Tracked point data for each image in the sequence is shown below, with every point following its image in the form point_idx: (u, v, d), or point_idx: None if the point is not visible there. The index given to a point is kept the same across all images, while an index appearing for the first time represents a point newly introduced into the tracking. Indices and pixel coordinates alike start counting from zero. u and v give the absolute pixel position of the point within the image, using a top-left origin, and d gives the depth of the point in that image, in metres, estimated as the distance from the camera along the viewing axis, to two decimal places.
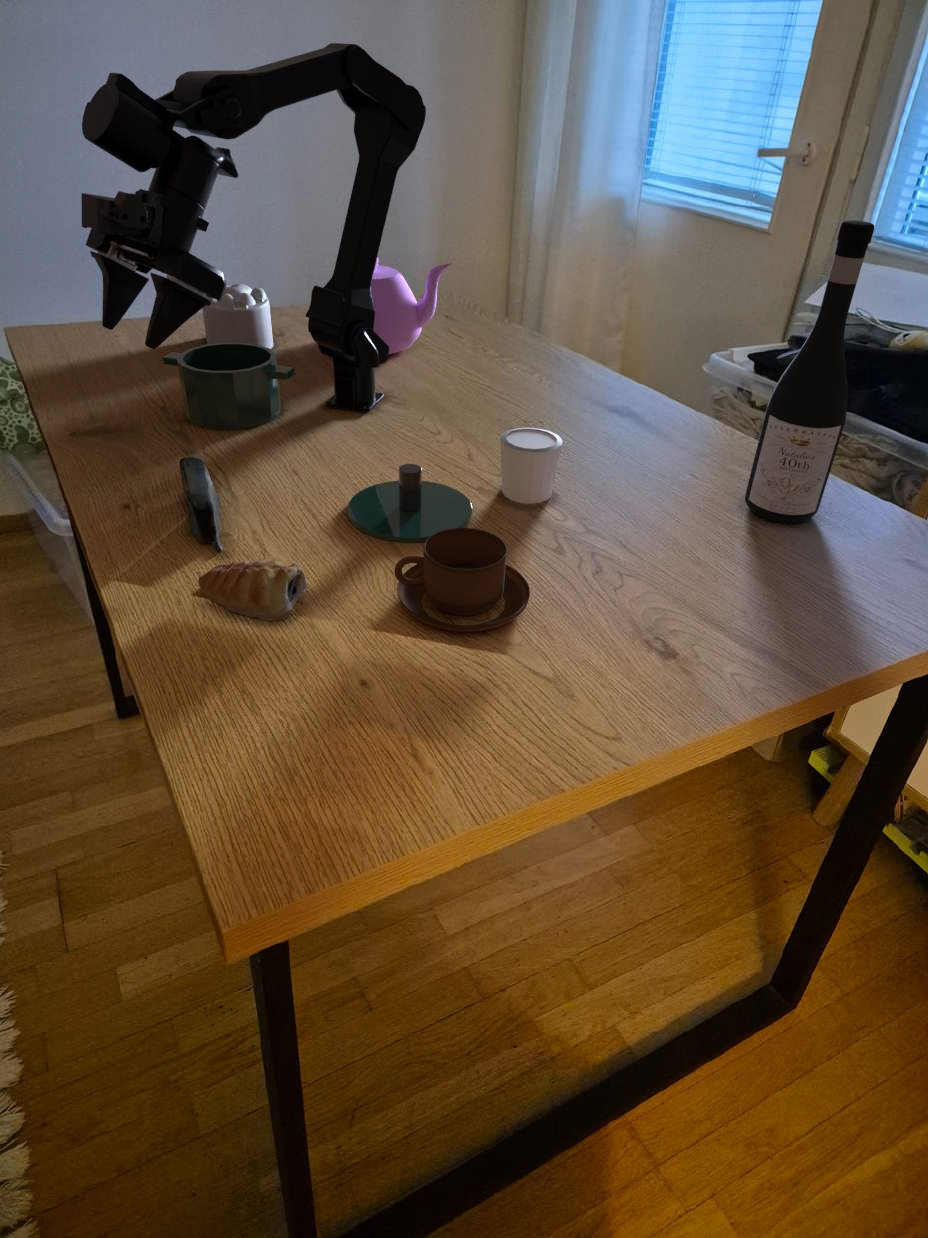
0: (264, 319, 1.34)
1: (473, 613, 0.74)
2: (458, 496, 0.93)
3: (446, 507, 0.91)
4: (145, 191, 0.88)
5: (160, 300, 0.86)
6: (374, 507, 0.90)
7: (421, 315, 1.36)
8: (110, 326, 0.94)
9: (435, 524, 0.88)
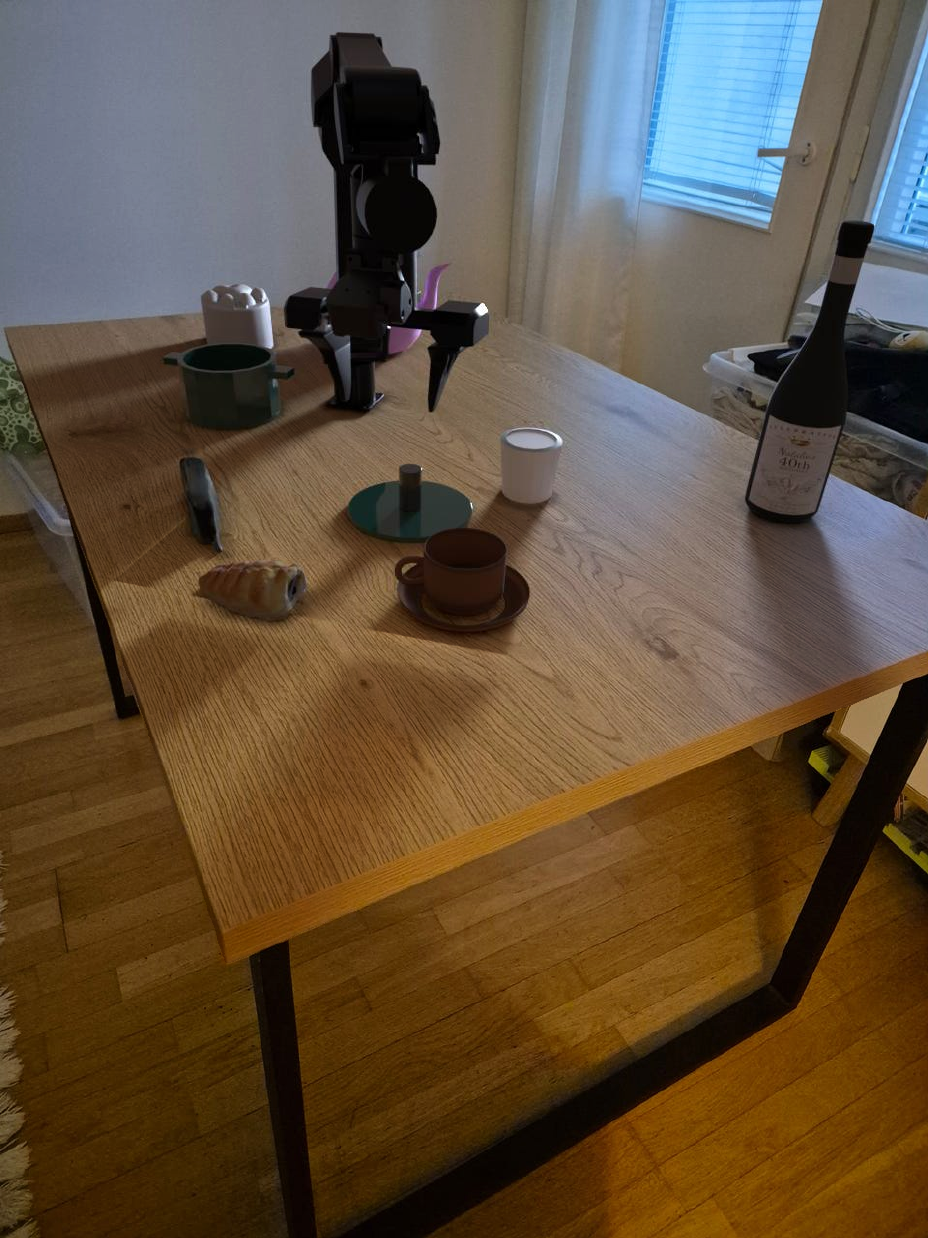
0: (264, 319, 1.34)
1: (473, 613, 0.74)
2: (458, 496, 0.93)
3: (446, 507, 0.91)
4: (360, 252, 0.74)
5: (440, 367, 0.79)
6: (374, 507, 0.90)
7: None
8: (348, 396, 0.85)
9: (435, 524, 0.88)
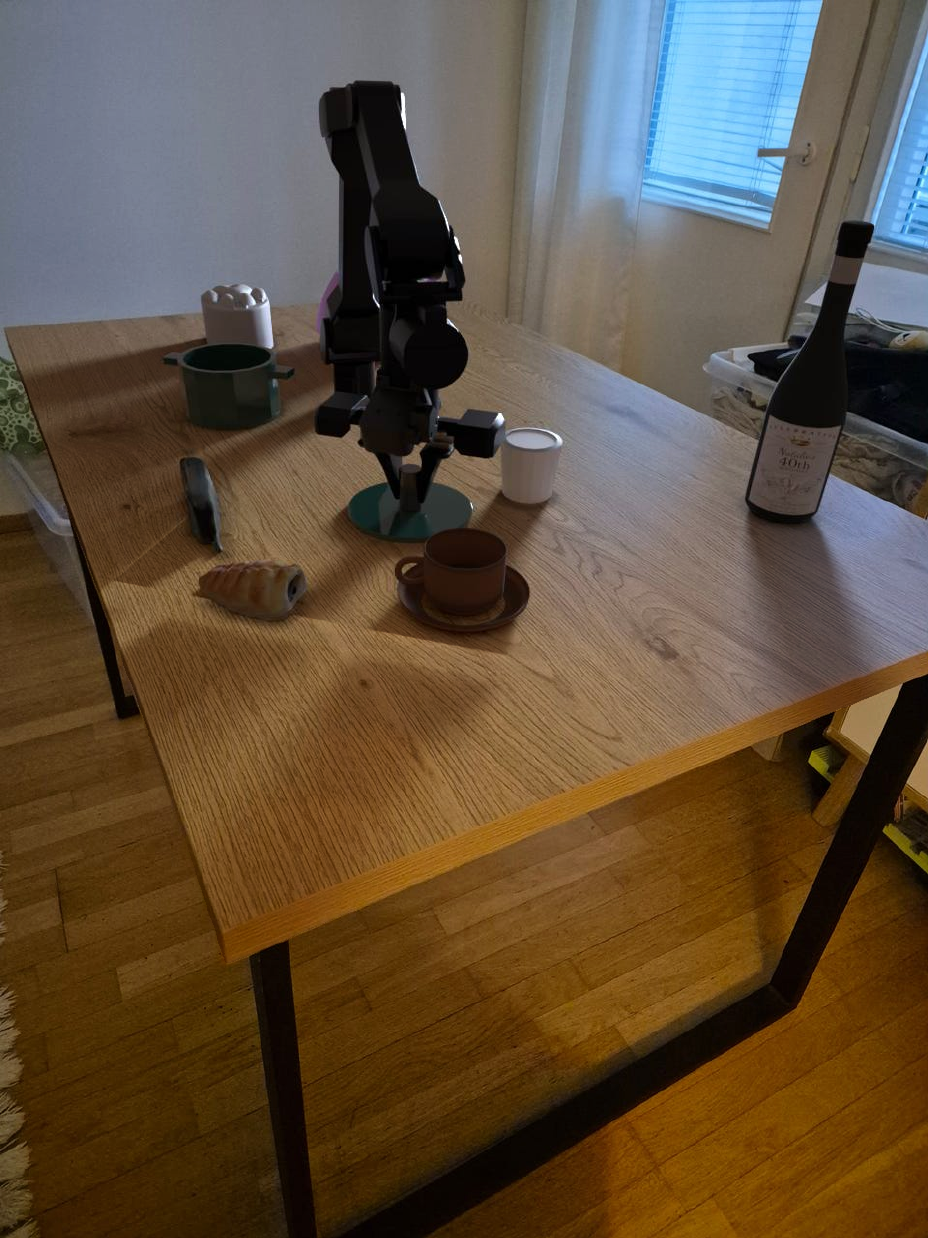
0: (264, 319, 1.34)
1: (473, 613, 0.74)
2: (458, 496, 0.93)
3: (446, 507, 0.91)
4: (389, 373, 0.80)
5: (431, 467, 0.86)
6: (374, 507, 0.90)
7: None
8: None
9: (435, 524, 0.88)
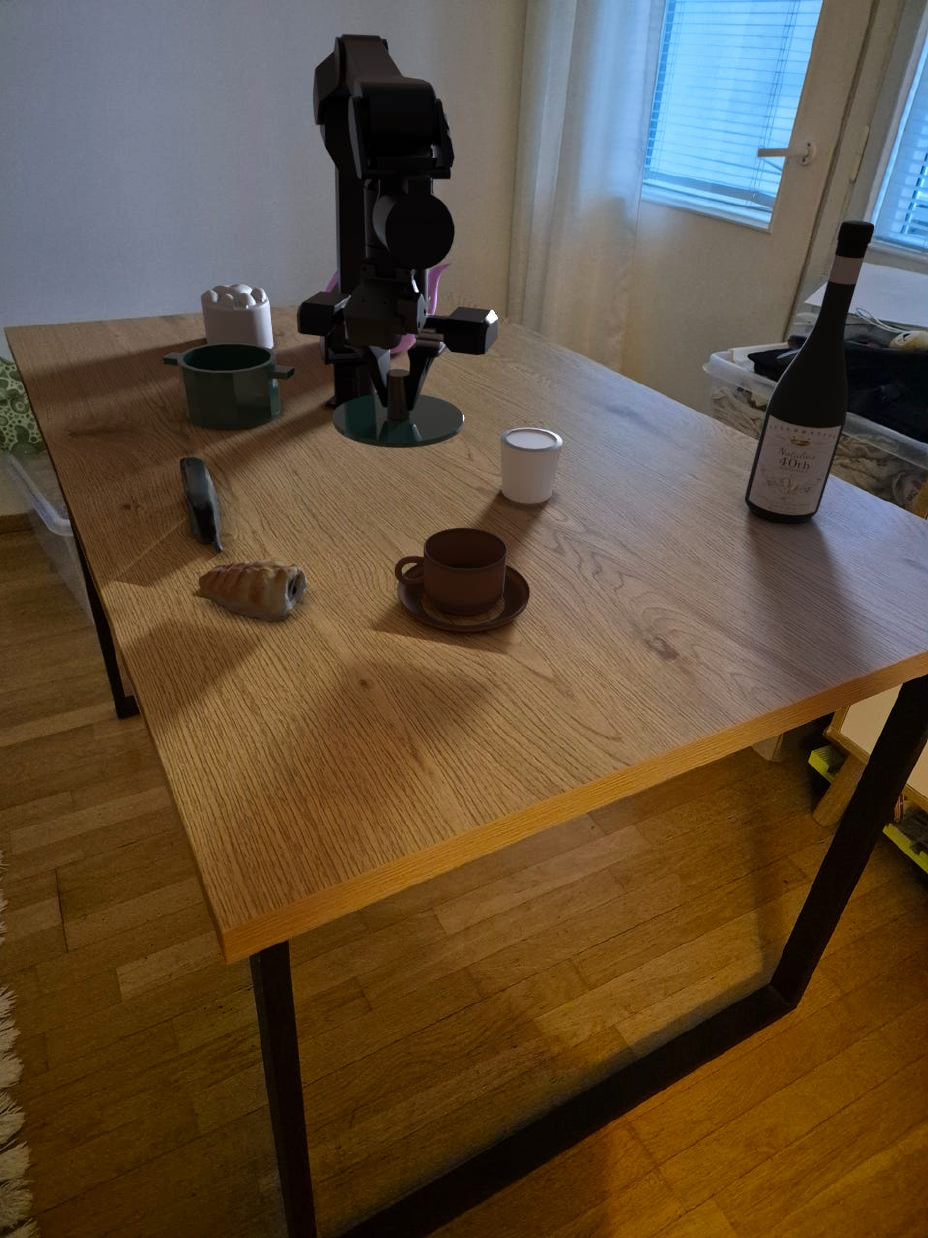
0: (264, 319, 1.34)
1: (473, 613, 0.74)
2: (449, 407, 0.89)
3: (436, 416, 0.87)
4: (375, 262, 0.76)
5: (419, 368, 0.82)
6: (361, 416, 0.86)
7: None
8: None
9: (425, 431, 0.84)
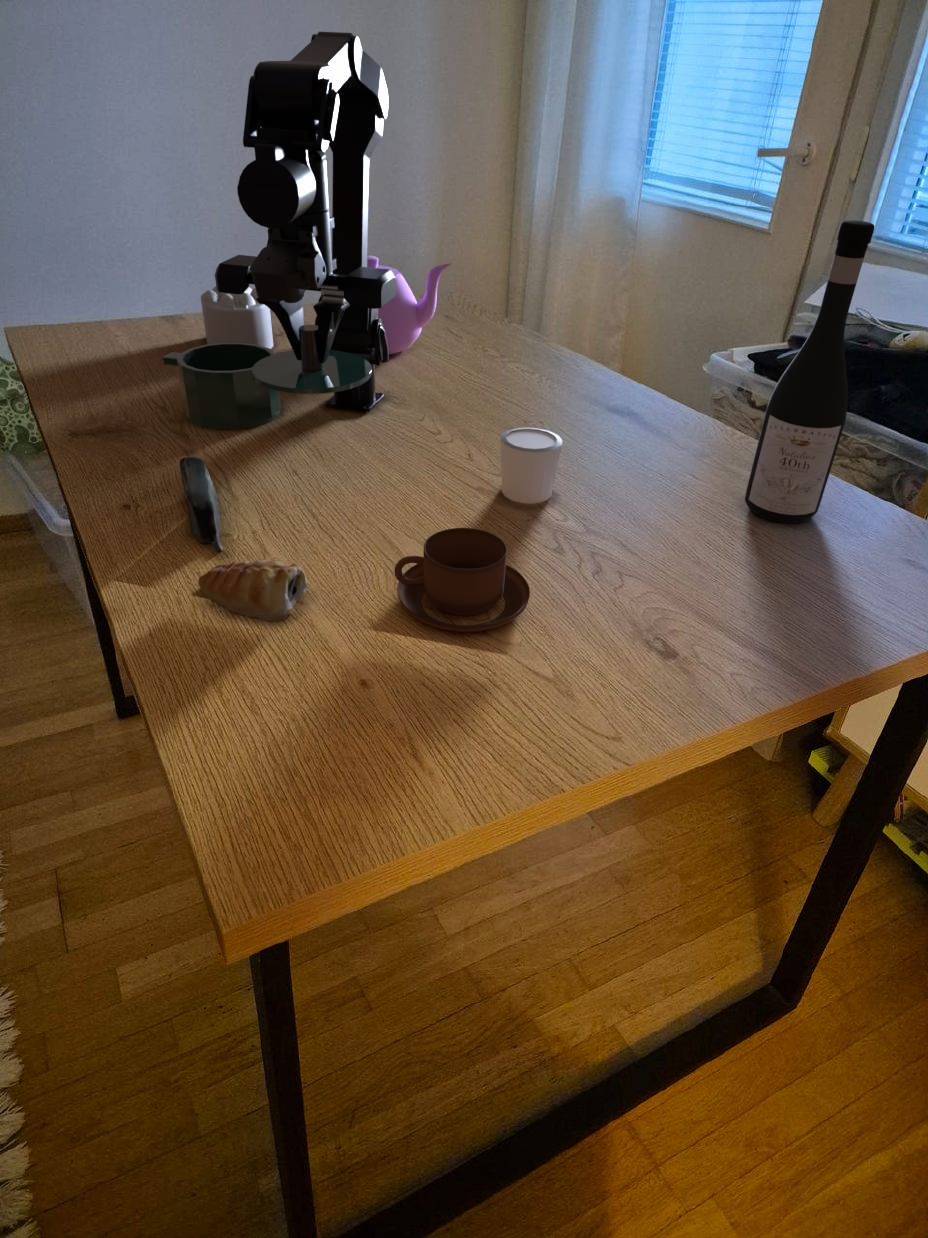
0: (264, 319, 1.34)
1: (473, 613, 0.74)
2: (360, 360, 0.98)
3: (346, 368, 0.96)
4: None
5: (326, 323, 0.91)
6: (278, 368, 0.95)
7: (421, 315, 1.36)
8: None
9: (333, 380, 0.93)
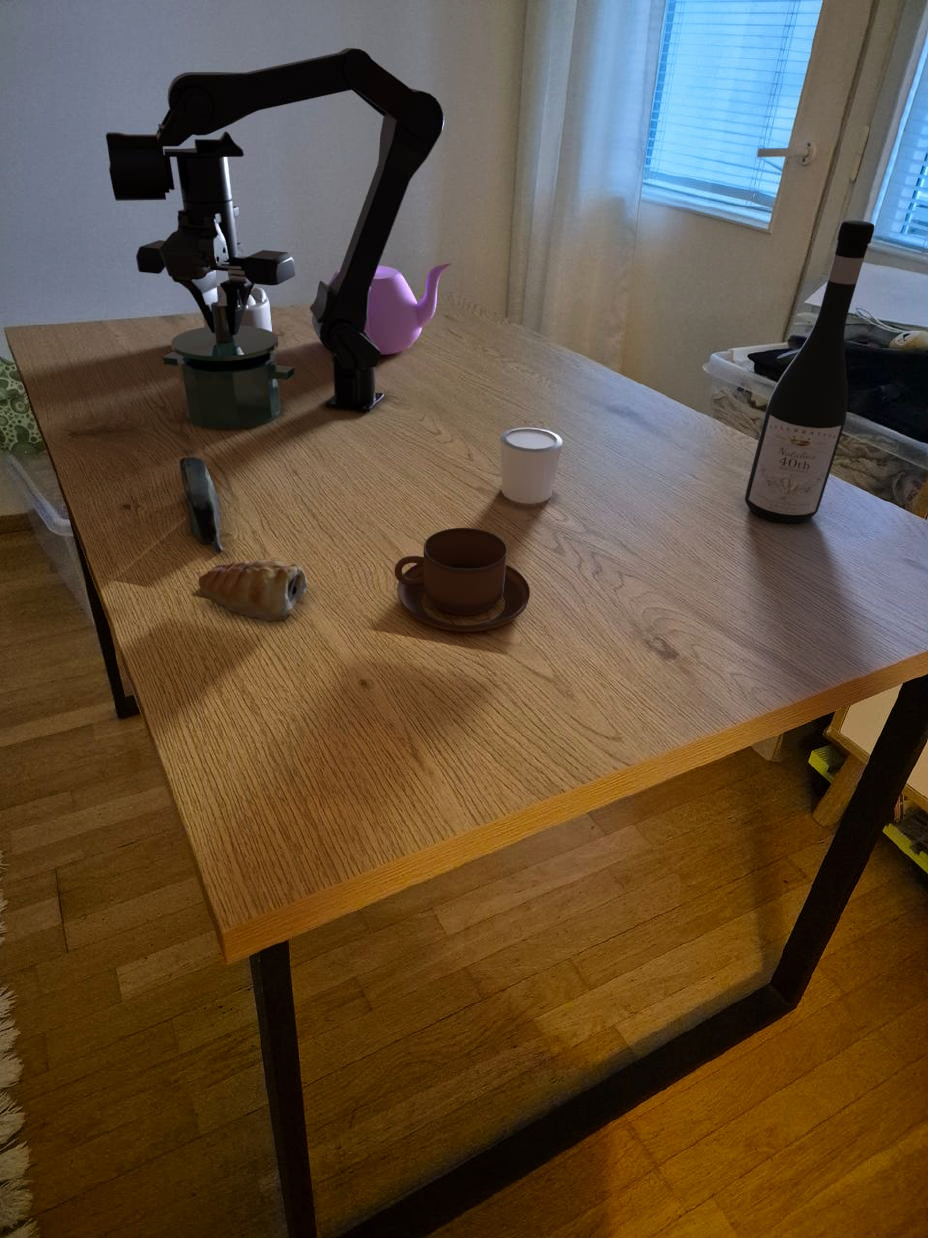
0: (264, 319, 1.34)
1: (473, 613, 0.74)
2: (269, 334, 1.11)
3: (255, 340, 1.09)
4: (187, 212, 0.98)
5: (233, 299, 1.04)
6: (194, 339, 1.09)
7: (421, 315, 1.36)
8: None
9: (240, 349, 1.06)
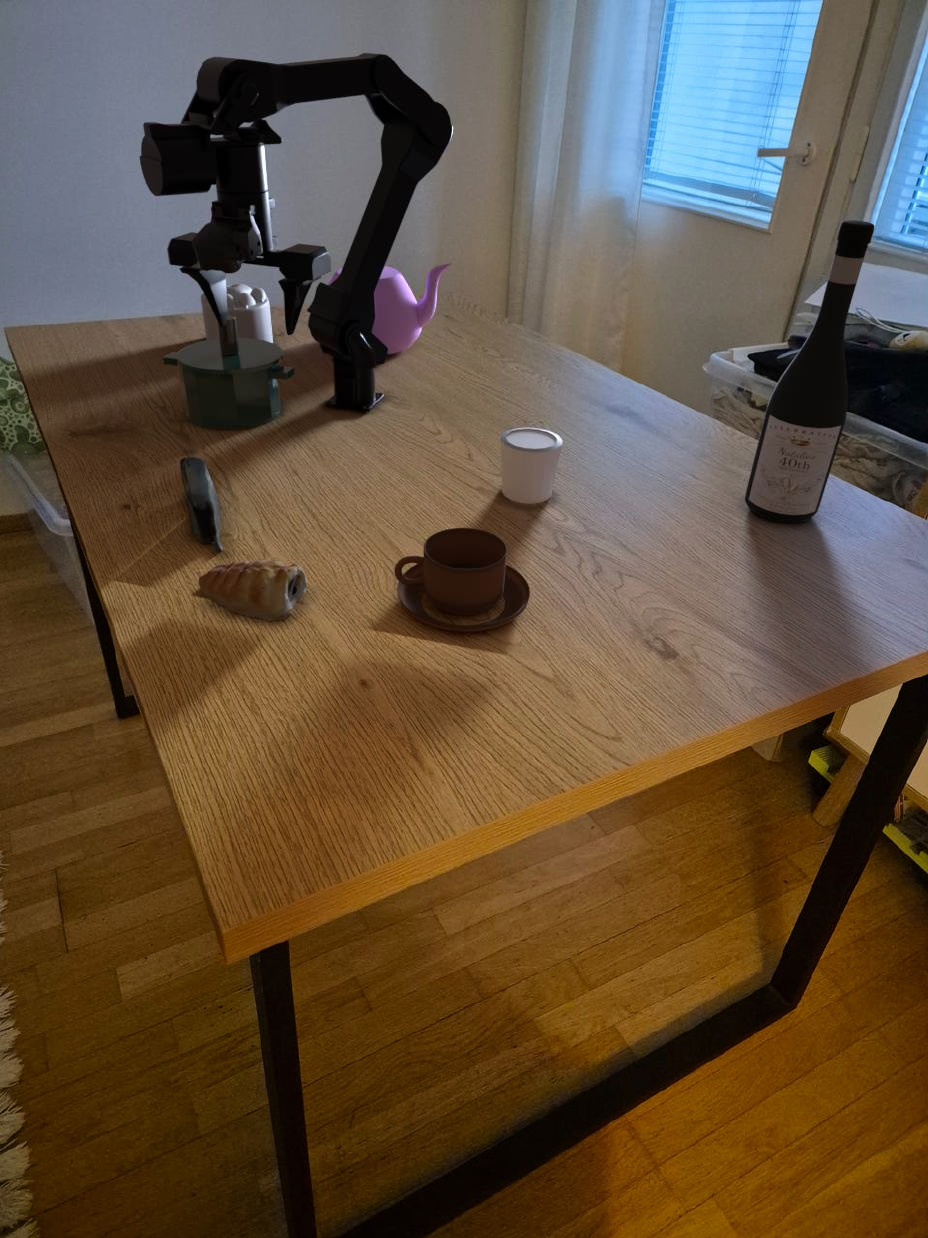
0: (264, 319, 1.34)
1: (473, 613, 0.74)
2: (274, 347, 1.12)
3: (260, 353, 1.10)
4: (221, 203, 0.94)
5: (291, 297, 1.00)
6: (200, 352, 1.09)
7: (421, 315, 1.36)
8: (225, 322, 1.06)
9: (246, 363, 1.07)
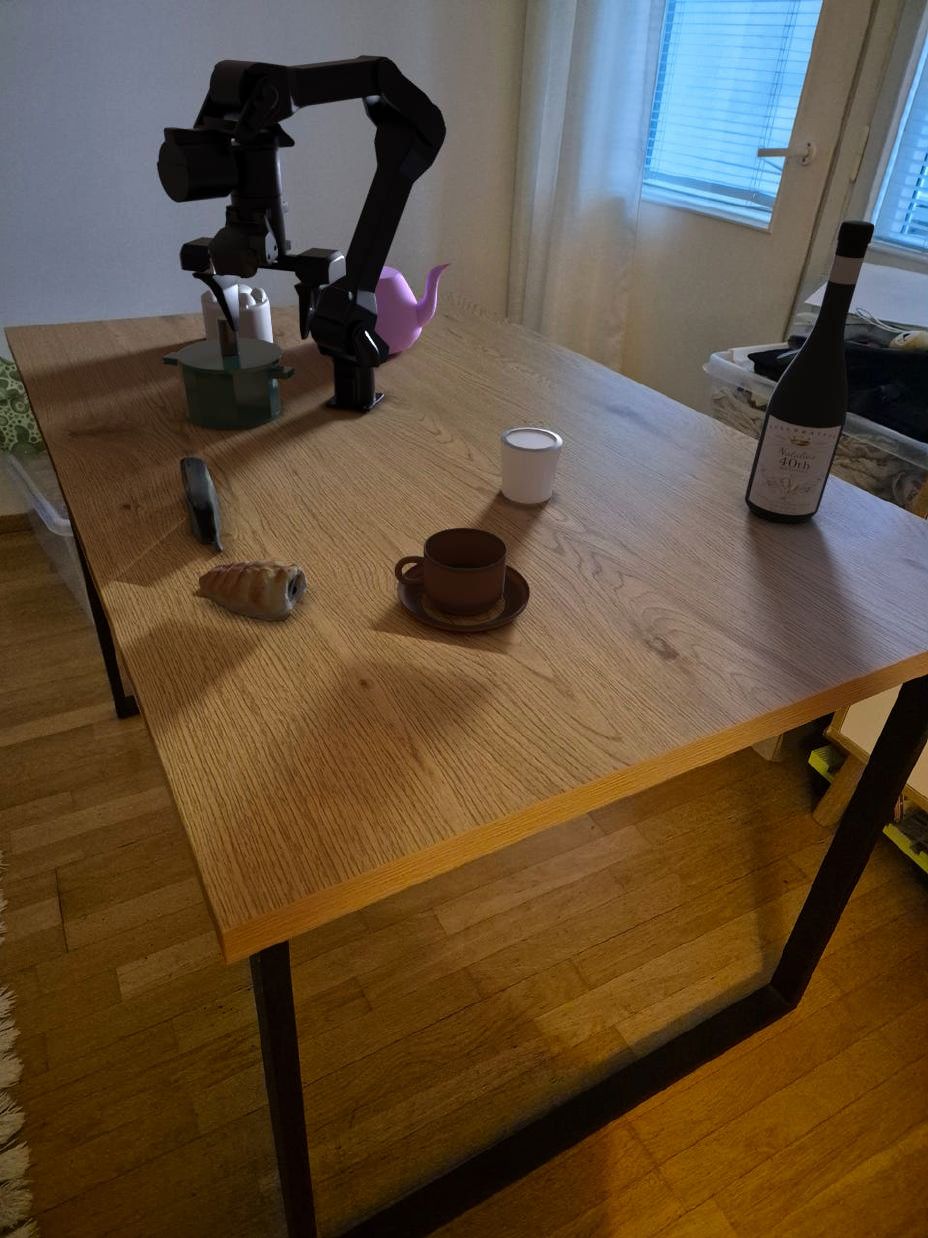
0: (264, 319, 1.34)
1: (473, 613, 0.74)
2: (274, 347, 1.12)
3: (260, 353, 1.10)
4: (236, 208, 0.94)
5: (306, 301, 0.99)
6: (200, 352, 1.09)
7: (421, 315, 1.36)
8: (237, 327, 1.05)
9: (246, 363, 1.07)
